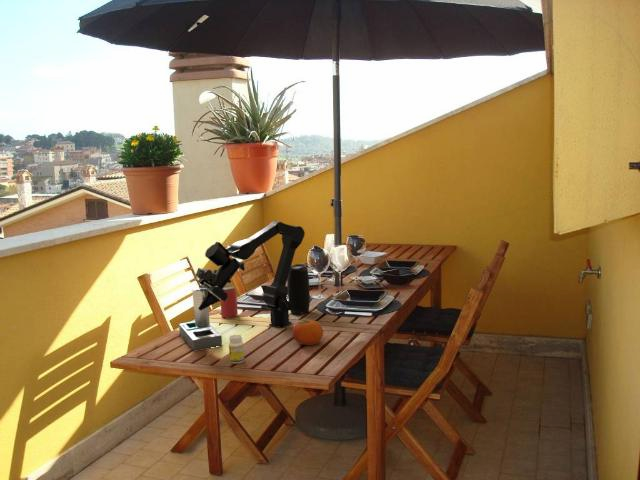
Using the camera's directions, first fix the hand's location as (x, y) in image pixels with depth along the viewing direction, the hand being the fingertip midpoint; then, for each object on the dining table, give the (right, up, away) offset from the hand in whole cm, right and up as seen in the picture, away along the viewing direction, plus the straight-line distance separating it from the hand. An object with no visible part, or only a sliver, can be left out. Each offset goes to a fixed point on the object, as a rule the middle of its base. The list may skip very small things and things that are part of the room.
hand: (197, 307), depth 221 cm
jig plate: (0, -12, +7) cm, 15 cm away
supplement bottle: (+16, -16, -16) cm, 27 cm away
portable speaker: (+35, -6, +37) cm, 51 cm away
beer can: (+6, -7, +36) cm, 37 cm away
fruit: (+39, -13, -1) cm, 41 cm away
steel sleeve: (+2, -6, +2) cm, 7 cm away
